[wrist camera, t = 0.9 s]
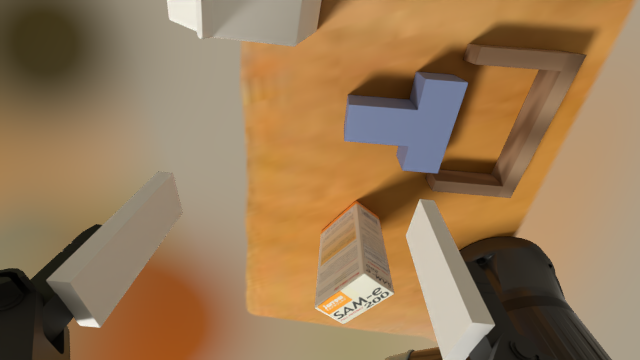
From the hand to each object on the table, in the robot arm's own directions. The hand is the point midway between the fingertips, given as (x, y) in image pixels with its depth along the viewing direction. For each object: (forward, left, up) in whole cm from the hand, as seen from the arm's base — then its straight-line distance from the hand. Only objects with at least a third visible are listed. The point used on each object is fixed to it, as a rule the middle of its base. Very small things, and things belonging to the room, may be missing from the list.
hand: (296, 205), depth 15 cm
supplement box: (-18, -6, -20) cm, 27 cm away
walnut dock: (-1, -19, -20) cm, 27 cm away
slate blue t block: (-1, -8, -20) cm, 21 cm away
